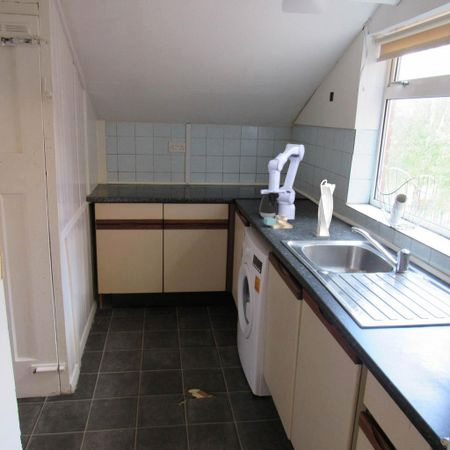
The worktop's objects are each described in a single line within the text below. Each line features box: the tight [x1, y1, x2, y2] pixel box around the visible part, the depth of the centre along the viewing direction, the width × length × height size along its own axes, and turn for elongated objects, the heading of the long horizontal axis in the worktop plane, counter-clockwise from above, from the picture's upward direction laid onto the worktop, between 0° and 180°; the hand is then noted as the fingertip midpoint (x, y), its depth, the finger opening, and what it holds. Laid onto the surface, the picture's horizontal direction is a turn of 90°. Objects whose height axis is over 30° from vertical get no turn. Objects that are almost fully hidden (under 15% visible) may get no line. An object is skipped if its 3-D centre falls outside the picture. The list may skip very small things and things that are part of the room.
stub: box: [263, 217, 276, 226], centre depth 234 cm, size 5×5×3 cm
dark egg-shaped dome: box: [258, 194, 278, 219], centre depth 255 cm, size 10×10×15 cm
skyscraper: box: [312, 179, 336, 239], centre depth 218 cm, size 8×8×28 cm
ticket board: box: [267, 214, 293, 230], centre depth 238 cm, size 11×13×5 cm
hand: (272, 206), depth 241 cm, fingers closed
